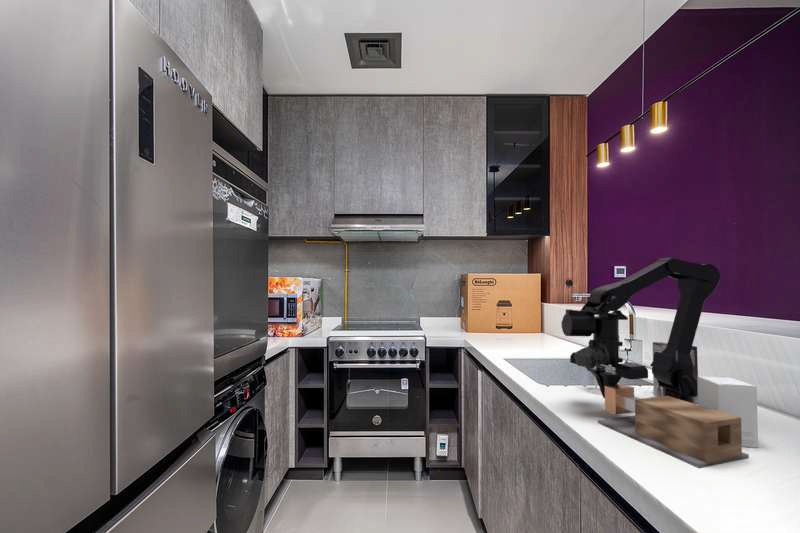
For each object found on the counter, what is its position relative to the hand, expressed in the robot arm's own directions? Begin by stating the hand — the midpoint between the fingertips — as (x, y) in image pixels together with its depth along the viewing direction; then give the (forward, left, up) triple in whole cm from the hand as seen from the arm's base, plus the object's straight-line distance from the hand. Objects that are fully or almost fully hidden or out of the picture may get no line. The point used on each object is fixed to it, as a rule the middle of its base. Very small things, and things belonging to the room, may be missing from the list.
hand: (606, 398), depth 93 cm
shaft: (0, +12, -2) cm, 12 cm away
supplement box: (-13, +19, -4) cm, 23 cm away
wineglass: (-14, -16, -4) cm, 22 cm away
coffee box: (-31, -4, -4) cm, 32 cm away
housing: (0, +15, -4) cm, 15 cm away
